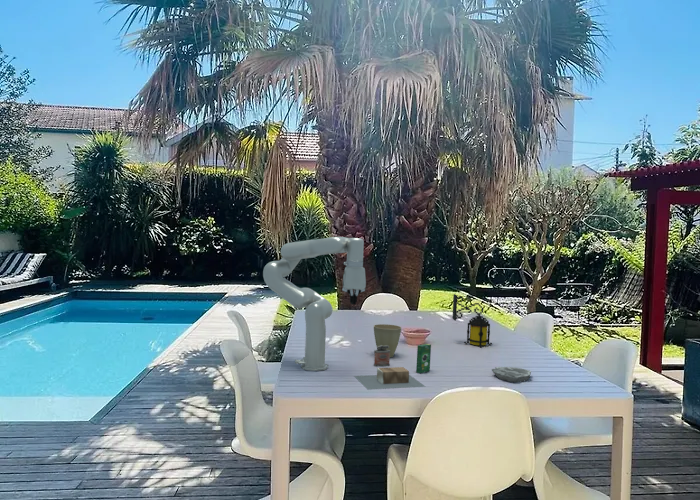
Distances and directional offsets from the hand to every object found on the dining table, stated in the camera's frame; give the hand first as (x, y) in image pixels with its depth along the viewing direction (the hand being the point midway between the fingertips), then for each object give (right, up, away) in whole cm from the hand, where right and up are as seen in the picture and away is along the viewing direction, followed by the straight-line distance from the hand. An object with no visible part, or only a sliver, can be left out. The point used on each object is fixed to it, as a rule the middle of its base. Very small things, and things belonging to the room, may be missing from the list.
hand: (353, 303), depth 239 cm
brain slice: (+74, -35, +3) cm, 82 cm away
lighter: (+14, -32, +16) cm, 39 cm away
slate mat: (+16, -33, -14) cm, 39 cm away
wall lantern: (+73, -33, +73) cm, 108 cm away
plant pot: (+18, -32, +36) cm, 51 cm away
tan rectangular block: (+11, -30, -15) cm, 35 cm away
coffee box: (+34, -33, +7) cm, 48 cm away
